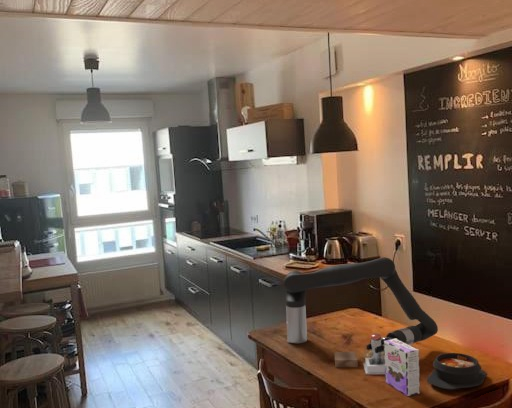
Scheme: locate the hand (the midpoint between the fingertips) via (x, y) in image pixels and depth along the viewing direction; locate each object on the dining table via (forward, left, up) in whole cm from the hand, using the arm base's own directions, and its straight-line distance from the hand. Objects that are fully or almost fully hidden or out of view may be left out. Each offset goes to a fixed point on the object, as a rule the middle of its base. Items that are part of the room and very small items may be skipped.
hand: (371, 348), depth 208 cm
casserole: (+30, -10, -9) cm, 33 cm away
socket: (+2, +2, -9) cm, 9 cm away
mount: (-10, +9, -9) cm, 16 cm away
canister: (+2, +2, -7) cm, 8 cm away
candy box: (+9, -15, -9) cm, 20 cm away
